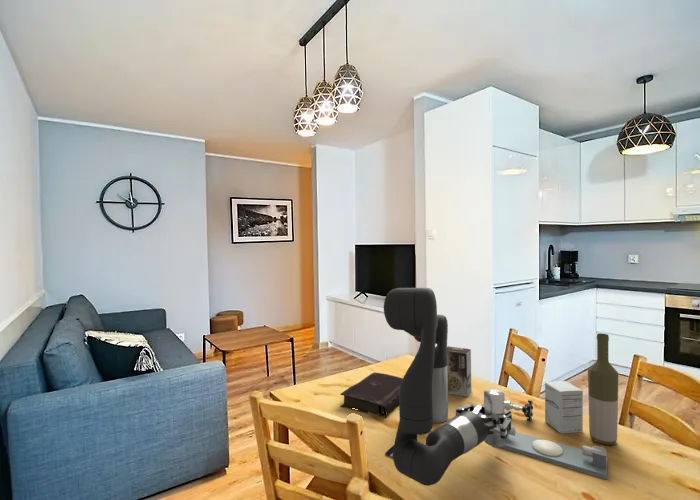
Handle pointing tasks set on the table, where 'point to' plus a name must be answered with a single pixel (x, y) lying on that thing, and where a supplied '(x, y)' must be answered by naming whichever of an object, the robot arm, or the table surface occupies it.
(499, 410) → the sleeve
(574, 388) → the supplement box
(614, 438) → the bottle
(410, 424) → the robot arm
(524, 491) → the table surface
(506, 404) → the valve
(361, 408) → the diary
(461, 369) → the coffee box
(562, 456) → the shaft bench
